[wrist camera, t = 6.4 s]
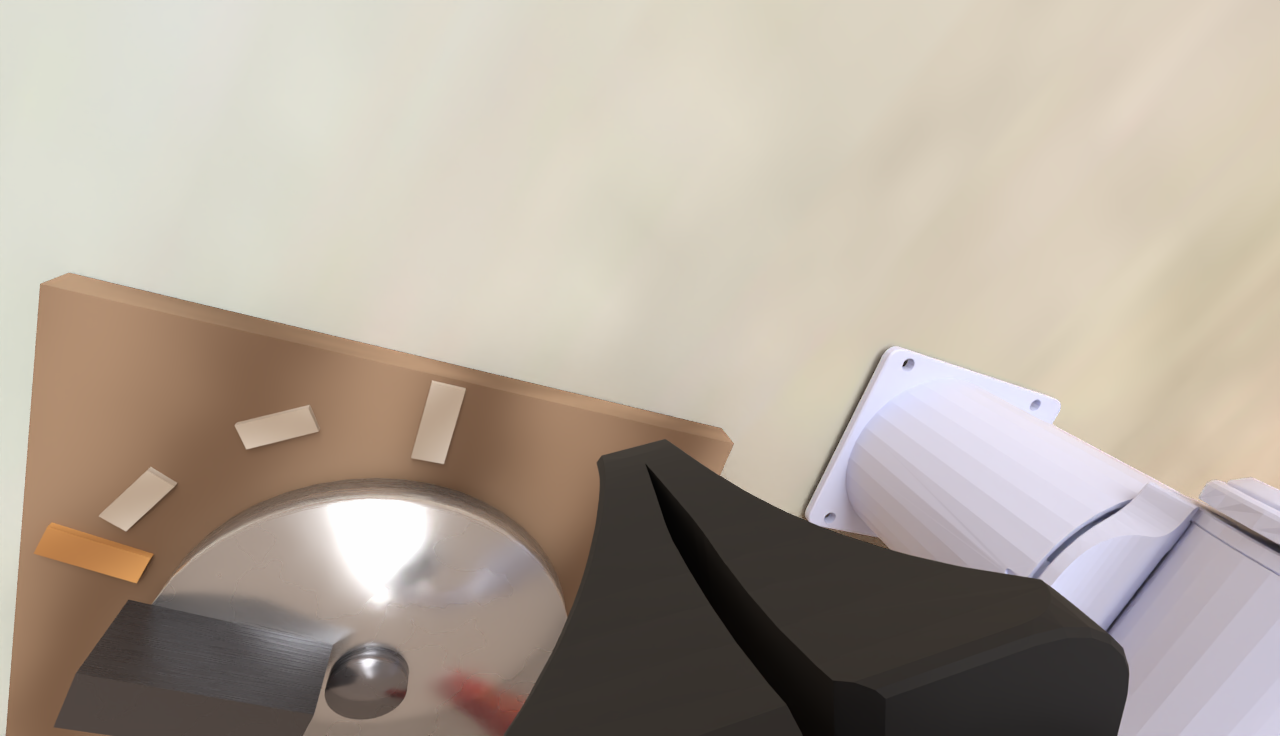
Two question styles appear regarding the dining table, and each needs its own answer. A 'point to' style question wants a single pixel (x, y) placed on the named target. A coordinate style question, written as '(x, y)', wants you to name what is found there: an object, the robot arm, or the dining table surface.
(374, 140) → the dining table surface
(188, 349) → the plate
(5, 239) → the dining table surface
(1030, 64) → the dining table surface
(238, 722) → the dial
